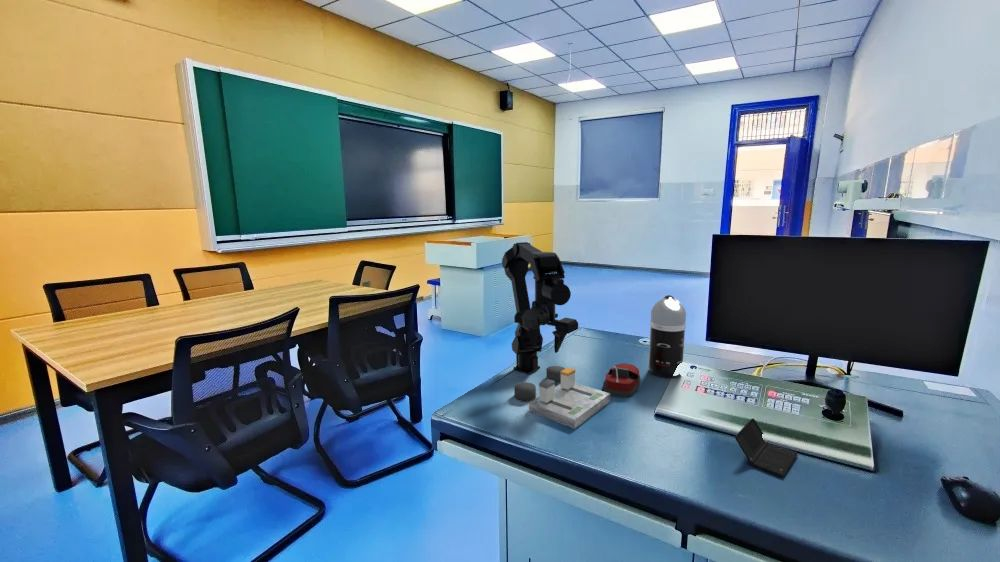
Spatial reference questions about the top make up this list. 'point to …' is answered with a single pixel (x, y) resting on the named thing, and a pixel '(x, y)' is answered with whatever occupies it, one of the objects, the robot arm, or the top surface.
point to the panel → (571, 405)
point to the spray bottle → (666, 336)
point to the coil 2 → (554, 373)
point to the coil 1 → (525, 391)
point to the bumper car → (622, 380)
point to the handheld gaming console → (764, 451)
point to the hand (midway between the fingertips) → (545, 349)
